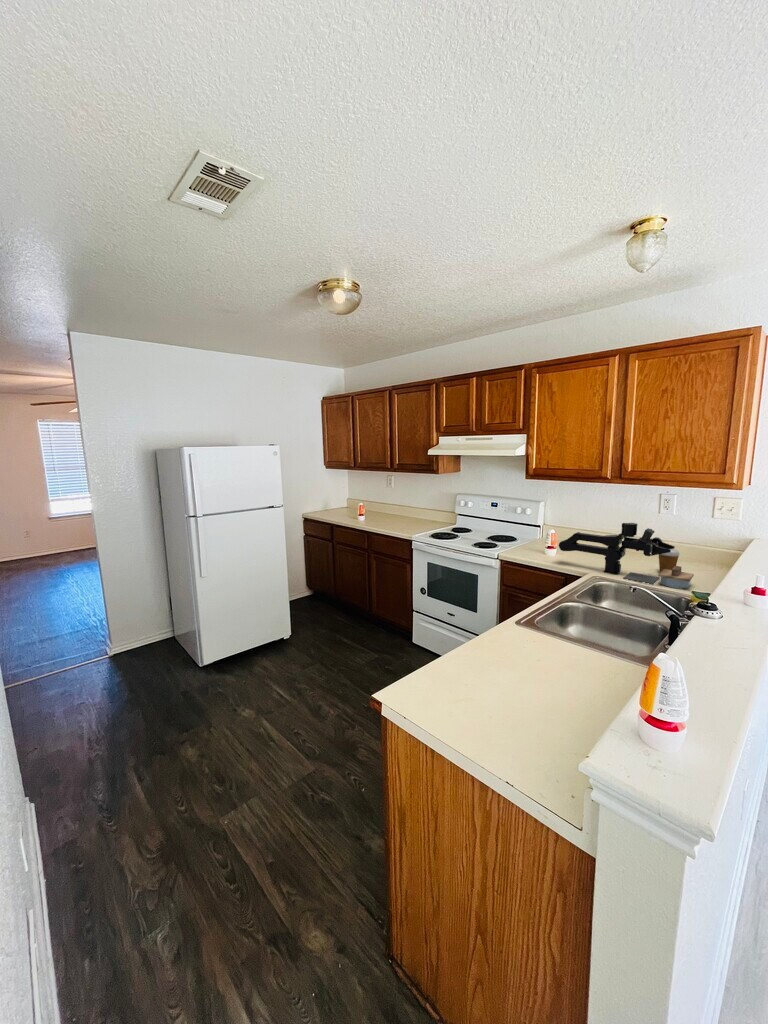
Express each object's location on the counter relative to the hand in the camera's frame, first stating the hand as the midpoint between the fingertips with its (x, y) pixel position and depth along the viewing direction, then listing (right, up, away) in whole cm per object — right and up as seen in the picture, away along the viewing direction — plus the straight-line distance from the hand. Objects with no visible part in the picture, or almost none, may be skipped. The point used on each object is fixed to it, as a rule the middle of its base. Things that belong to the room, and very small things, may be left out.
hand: (672, 549), depth 199 cm
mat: (-9, -15, +9) cm, 20 cm away
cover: (+1, -13, -1) cm, 13 cm away
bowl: (+1, -17, -1) cm, 17 cm away
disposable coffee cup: (+10, -14, +18) cm, 25 cm away
